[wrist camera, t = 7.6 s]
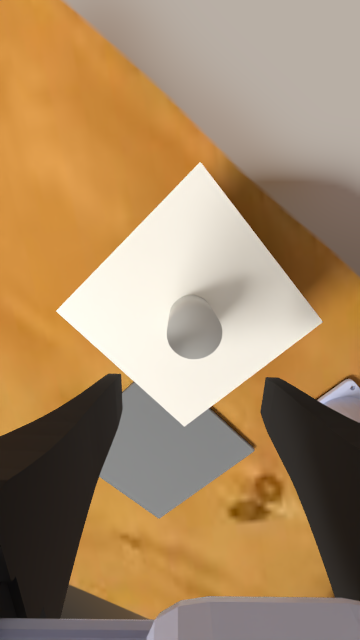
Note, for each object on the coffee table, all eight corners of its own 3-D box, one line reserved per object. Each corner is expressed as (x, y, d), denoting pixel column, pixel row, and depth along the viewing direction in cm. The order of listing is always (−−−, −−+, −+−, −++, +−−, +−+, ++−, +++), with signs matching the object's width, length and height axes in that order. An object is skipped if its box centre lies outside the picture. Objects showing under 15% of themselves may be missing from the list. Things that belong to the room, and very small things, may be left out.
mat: (253, 447, 25) (254, 450, 25) (159, 515, 28) (158, 518, 28) (157, 360, 22) (157, 362, 22) (62, 446, 25) (60, 449, 24)
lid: (317, 319, 16) (362, 340, 12) (184, 421, 19) (185, 466, 15) (199, 165, 13) (208, 129, 10) (60, 309, 16) (21, 327, 12)
